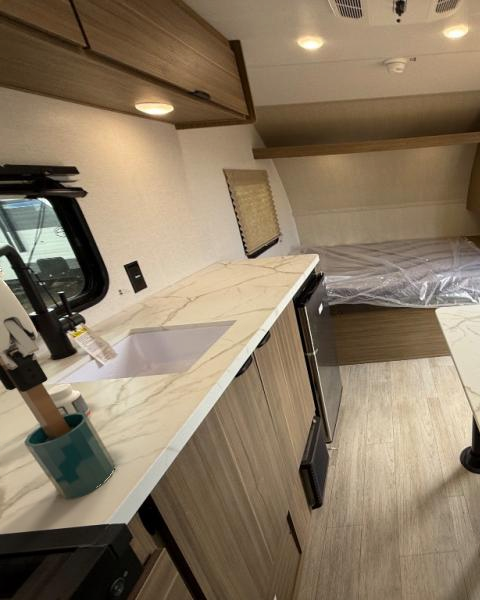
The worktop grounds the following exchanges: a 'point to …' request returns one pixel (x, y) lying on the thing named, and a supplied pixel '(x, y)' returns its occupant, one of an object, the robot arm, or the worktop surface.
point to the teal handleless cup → (72, 457)
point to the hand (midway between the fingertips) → (27, 384)
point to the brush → (43, 409)
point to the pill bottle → (68, 400)
